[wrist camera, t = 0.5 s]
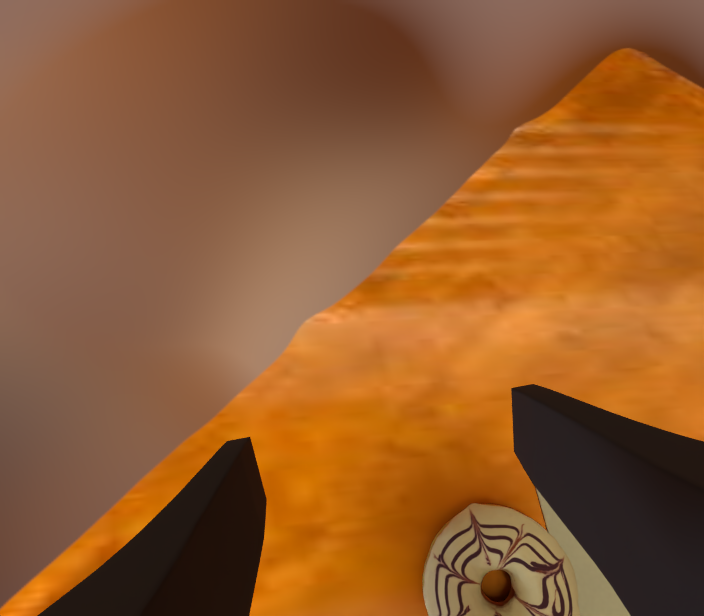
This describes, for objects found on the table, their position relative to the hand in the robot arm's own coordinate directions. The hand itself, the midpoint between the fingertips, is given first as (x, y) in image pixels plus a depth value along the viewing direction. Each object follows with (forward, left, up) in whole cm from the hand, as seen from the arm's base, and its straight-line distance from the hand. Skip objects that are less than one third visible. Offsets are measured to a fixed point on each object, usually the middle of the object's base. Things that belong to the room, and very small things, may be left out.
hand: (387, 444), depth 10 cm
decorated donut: (-11, -5, -24) cm, 28 cm away
